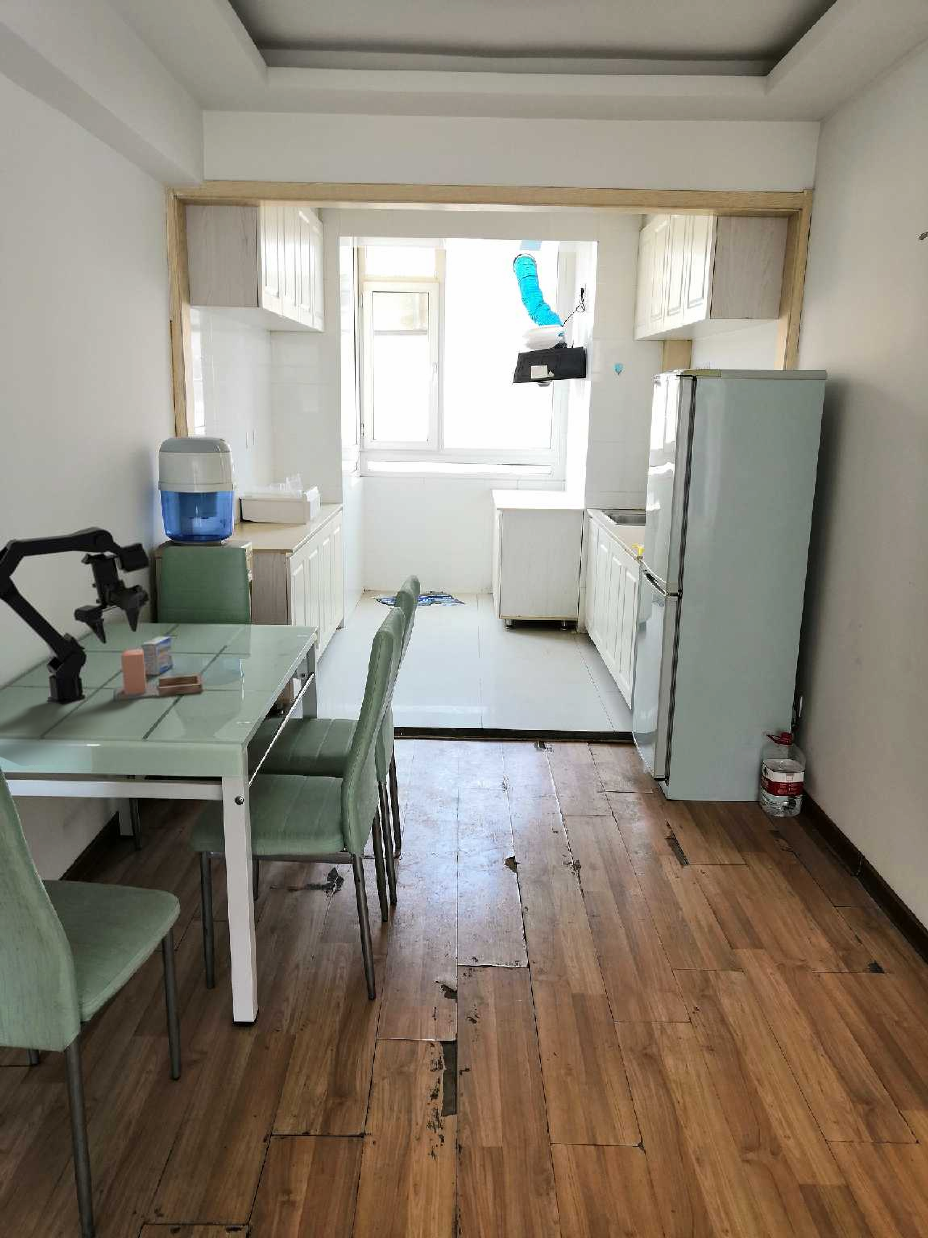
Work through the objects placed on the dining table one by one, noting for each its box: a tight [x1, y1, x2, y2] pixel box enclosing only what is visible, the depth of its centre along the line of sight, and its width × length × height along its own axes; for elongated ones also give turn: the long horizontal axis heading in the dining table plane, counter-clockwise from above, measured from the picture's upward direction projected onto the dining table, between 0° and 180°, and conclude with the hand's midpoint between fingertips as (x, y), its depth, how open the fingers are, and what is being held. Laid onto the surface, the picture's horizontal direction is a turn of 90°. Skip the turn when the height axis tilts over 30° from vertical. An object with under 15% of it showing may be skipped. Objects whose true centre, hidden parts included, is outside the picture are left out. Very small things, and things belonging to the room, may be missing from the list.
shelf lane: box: [157, 673, 204, 697], centre depth 237 cm, size 10×9×2 cm
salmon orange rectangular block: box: [120, 648, 147, 695], centre depth 233 cm, size 5×5×10 cm
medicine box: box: [141, 636, 174, 676], centre depth 252 cm, size 8×4×9 cm, turn 168°
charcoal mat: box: [113, 682, 158, 702], centre depth 234 cm, size 10×10×1 cm
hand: (119, 637), depth 235 cm, fingers open, 9 cm apart
